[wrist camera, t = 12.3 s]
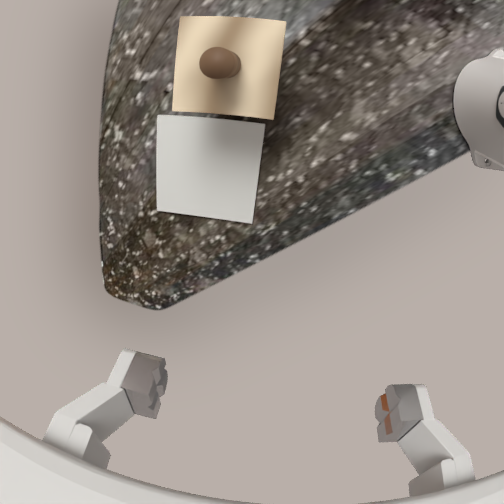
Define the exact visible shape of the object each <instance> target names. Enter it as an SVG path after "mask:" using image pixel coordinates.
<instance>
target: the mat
mask: <svg viewBox="0 0 504 504" xmlns="http://www.w3.org/2000/svg"><path fill="white" fill-rule="evenodd" d="M264 131H265V124H263V123H255V122H247V121H238V120H229V119H218V118H206V117H192V116H175V115H158V119H157V211H164V212H172V213H179V214H187V215H194V216H202V217H209V218H216V219H223V220H230V221H237V222H244V223H251V224H252V222H253V214H254V207H255V199H256V191H257V184H258V176H259V168H260V161H261V153H262V146H263V138H264Z"/></svg>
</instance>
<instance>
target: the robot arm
mask: <svg viewBox="0 0 504 504" xmlns="http://www.w3.org/2000/svg"><path fill="white" fill-rule="evenodd" d="M453 102H454V112H455V117H456V121H457V124H458V126H459V129H460V131H461V133H462V135H463V136H464V138H465V139H466V141H467V143H468V144H469V147H470V151H471V157H472V160H473V162H474V164H475V165H476V166H478V167H481V168H487V169H494V170H501V171H504V51H503V50H501V49H495V50H494V51H492V52H491V53H490V54H489V55H488V56H487V57H485V58H481V59H476V60H474V61H472V62H470V63H469V64H467V65H466V66H465V67H464V68H463V70H462V71H461V73H460V74H459V76H458V79H457V81H456V84H455V89H454V99H453ZM486 158H487V160H486V162H485V159H486ZM165 365H166V362H165V358H161V357H157V356H153V355H149V354H145V353H141V352H138V351H133V350H129V349H126V348H125V349H123V351H122V352H121V353H120V356H119V358H118V360H117V362H116V364H115V366H114V368H113V370H112V372H111V374H110V376H109V379H108V381H107V383H101V384H99V385H98V386H96V387H95V388H93V389H92V390H90V391H88V392H87V393H85V394H84V395H82V396H81V397H79V398H77V399H76V400H74V401H72V402H71V403H69V404H68V405H66V406H64V407H63V408H61V409H60V410H58V411H56V413H55V415H54V417H53V419H52V421H51V423H50V425H49V427H48V429H47V431H46V433H45V436H44V438H43V440H40V439H38V438H36V437H34V436H32V435H30V434H29V433H26V432H25V431H23V430H22V429H20V428H18V427H16V426H15V425H13V424H11V423H10V422H8V421H6V420H5V419H3V418H2V417H0V504H259V503H249V502H240V501H232V500H225V499H218V498H212V497H206V496H201V495H196V494H191V493H186V492H182V491H177V490H173V489H169V488H165V487H161V486H157V485H154V484H150V483H146V482H143V481H140V480H136V479H133V478H130V477H127V476H124V475H121V474H118V473H115V472H112V471H109V470H107V465H108V462H109V459H110V456H111V455H110V453H109V451H108V450H107V449H106V447H105V446H104V445H103V444H102V441H104V440H105V439H106V438H107V437H108V436H110V435H111V434H112V433H113V432H115V431H116V430H117V429H118V428H119V427H121V426H122V425H123V424H124V423H125V422H127V421H128V420H129V419H130V418H131V417H132V416H133V415H134V414H138V415H142V416H145V417H149V418H154V419H156V418H157V414H158V411H159V408H160V405H161V403H160V399H159V397H161V396H162V395H164V393H165V390H166V385H167V377H168V376H167V371H166V370H165V369H164V367H165ZM385 392H386V393H385V394H383V395H381V396H380V397H379V399H378V400H377V402H376V406H375V416H376V419H377V420H378V421H379V422H380V424H379V425H378V427H377V432H378V439H379V442H397V443H398V444H399V446H400V447H401V449H402V450H403V452H404V453H405V454H406V456H407V458H408V459H409V460H410V462H411V464H412V465H413V466H414V468H415V469H416V471H417V472H418V474H419V476H418V477H416V478H414V479H413V480H411V481H410V482H409V493H410V497H407V498H401V499H394V500H387V501H380V502H371V503H361V504H504V470H503V471H501V472H498V473H495V474H493V475H490V476H487V477H484V478H481V479H479V480H475V475H474V470H473V465H472V461H471V456H470V453H469V452H468V451H467V450H466V449H465V448H464V447H463V445H462V444H461V443H460V442H459V441H458V440H457V439H456V438H455V437H454V436H453V435H452V434H451V432H450V431H449V430H448V429H447V428H446V427H445V426H444V425H443V424H442V423H441V422H440V421H439V420H438V419H435V417H434V414H433V409H432V406H431V402H430V398H429V395H428V391H427V388H426V386H425V385H424V384H414V385H412V384H401V385H389V386H388V387H387V388H386V389H385Z"/></svg>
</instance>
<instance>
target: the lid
mask: <svg viewBox="0 0 504 504" xmlns="http://www.w3.org/2000/svg"><path fill="white" fill-rule="evenodd" d="M285 30H286V21H278V20H269V19H258V18H244V17H222V16H189V17H180V23H179V32H178V41H177V51H176V62H175V75H174V89H173V106H172V111H185V112H202V113H216V114H228V115H238V116H247V117H256V118H264V119H272V120H274V113H275V106H276V98H277V91H278V83H279V75H280V68H281V60H282V53H283V45H284V37H285Z"/></svg>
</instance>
